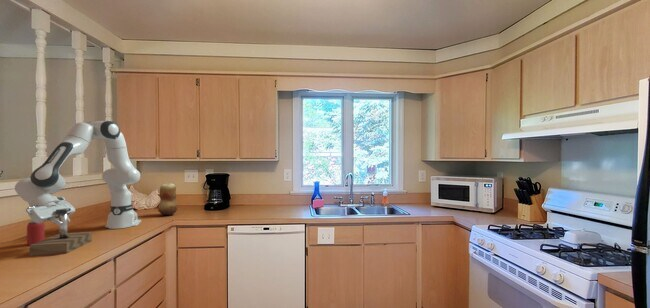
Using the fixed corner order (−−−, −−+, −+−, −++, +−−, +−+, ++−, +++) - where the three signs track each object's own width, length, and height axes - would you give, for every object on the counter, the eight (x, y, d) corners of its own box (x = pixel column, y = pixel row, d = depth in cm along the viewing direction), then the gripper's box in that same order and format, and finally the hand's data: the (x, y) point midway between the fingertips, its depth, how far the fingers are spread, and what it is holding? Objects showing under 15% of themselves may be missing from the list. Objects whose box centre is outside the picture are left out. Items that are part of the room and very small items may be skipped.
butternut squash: (155, 217, 212) (155, 184, 212) (161, 213, 225) (161, 183, 225) (175, 216, 215) (175, 184, 215) (180, 212, 228) (180, 182, 228)
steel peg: (60, 239, 145) (60, 208, 145) (73, 238, 146) (73, 208, 146) (52, 242, 140) (52, 210, 140) (66, 241, 141) (65, 210, 141)
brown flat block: (59, 242, 151) (59, 233, 151) (91, 240, 154) (91, 231, 154) (29, 255, 131) (29, 245, 132) (66, 253, 135) (66, 243, 135)
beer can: (43, 241, 154) (43, 219, 154) (45, 243, 150) (45, 221, 150) (26, 244, 149) (26, 221, 149) (27, 246, 145) (27, 223, 145)
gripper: (28, 203, 132) (50, 223, 133) (66, 196, 153) (85, 214, 153) (18, 213, 132) (40, 233, 133) (58, 205, 153) (76, 222, 153)
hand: (64, 223), depth 143 cm, fingers closed on steel peg, 3 cm apart
